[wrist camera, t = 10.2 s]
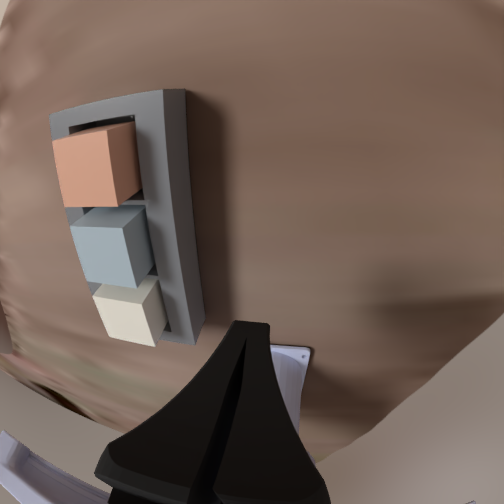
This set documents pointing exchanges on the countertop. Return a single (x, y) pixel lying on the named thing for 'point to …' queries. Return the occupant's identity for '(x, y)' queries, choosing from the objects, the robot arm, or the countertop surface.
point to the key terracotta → (98, 165)
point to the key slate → (114, 245)
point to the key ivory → (133, 311)
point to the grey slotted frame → (155, 195)
